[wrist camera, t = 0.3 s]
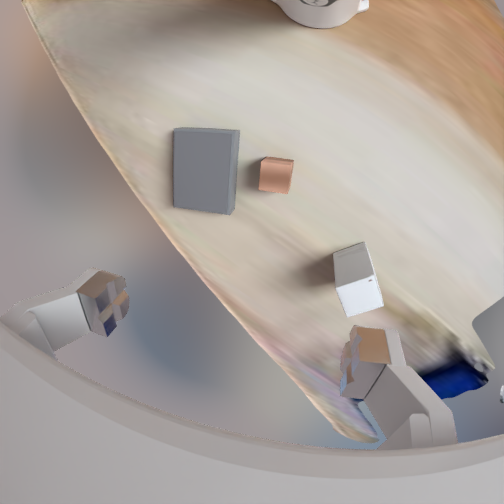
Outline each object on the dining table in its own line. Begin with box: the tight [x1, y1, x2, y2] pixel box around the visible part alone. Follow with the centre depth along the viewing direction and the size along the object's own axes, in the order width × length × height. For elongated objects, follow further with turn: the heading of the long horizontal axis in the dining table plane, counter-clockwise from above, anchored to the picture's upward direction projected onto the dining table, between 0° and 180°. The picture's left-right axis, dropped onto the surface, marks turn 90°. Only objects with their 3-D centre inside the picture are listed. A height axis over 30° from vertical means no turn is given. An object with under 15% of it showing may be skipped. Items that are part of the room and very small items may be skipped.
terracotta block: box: [258, 157, 294, 194], centre depth 49 cm, size 5×5×6 cm
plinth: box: [173, 127, 240, 215], centre depth 52 cm, size 16×12×4 cm
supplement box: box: [333, 242, 384, 317], centre depth 51 cm, size 7×7×13 cm
